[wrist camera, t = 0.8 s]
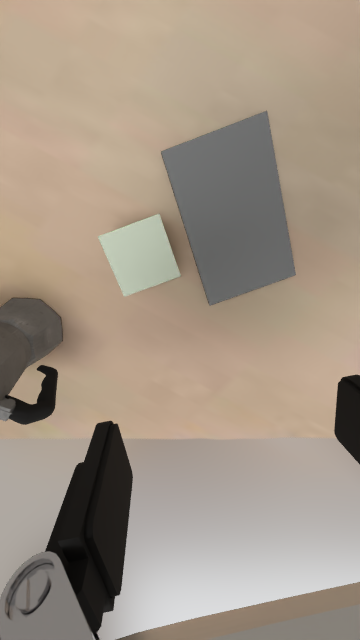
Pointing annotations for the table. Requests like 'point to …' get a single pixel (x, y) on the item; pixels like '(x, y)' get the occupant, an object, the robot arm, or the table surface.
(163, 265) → the pale green stool
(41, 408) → the coffeepot
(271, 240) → the mat
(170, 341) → the table surface
